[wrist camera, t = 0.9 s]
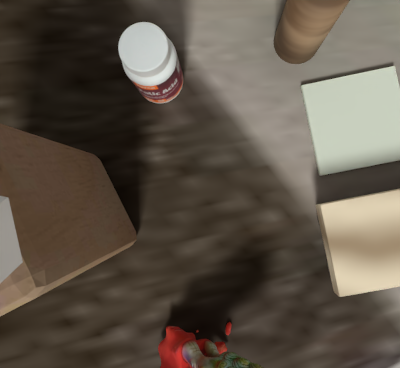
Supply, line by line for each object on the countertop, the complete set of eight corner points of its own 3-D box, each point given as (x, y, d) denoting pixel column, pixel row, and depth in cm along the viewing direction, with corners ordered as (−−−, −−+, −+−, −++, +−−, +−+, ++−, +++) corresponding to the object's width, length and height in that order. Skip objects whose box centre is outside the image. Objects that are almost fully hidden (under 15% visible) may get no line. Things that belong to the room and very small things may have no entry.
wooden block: (99, 151, 36) (-51, 97, 16) (143, 239, 36) (43, 294, 16) (13, 196, 37) (-234, 197, 17) (56, 284, 36) (-149, 392, 16)
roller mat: (300, 86, 35) (301, 85, 35) (392, 67, 35) (394, 65, 34) (319, 175, 35) (320, 175, 34) (412, 157, 34) (415, 157, 34)
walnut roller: (269, 25, 36) (293, -61, 24) (313, 16, 36) (360, -76, 24) (278, 67, 36) (307, 2, 24) (322, 58, 35) (374, -13, 23)
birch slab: (309, 204, 35) (320, 204, 31) (433, 180, 34) (461, 177, 30) (326, 285, 34) (339, 296, 30) (452, 262, 34) (483, 271, 30)
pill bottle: (145, 110, 36) (122, 84, 28) (132, 66, 36) (105, 27, 28) (190, 95, 36) (180, 65, 28) (176, 51, 36) (162, 8, 28)
